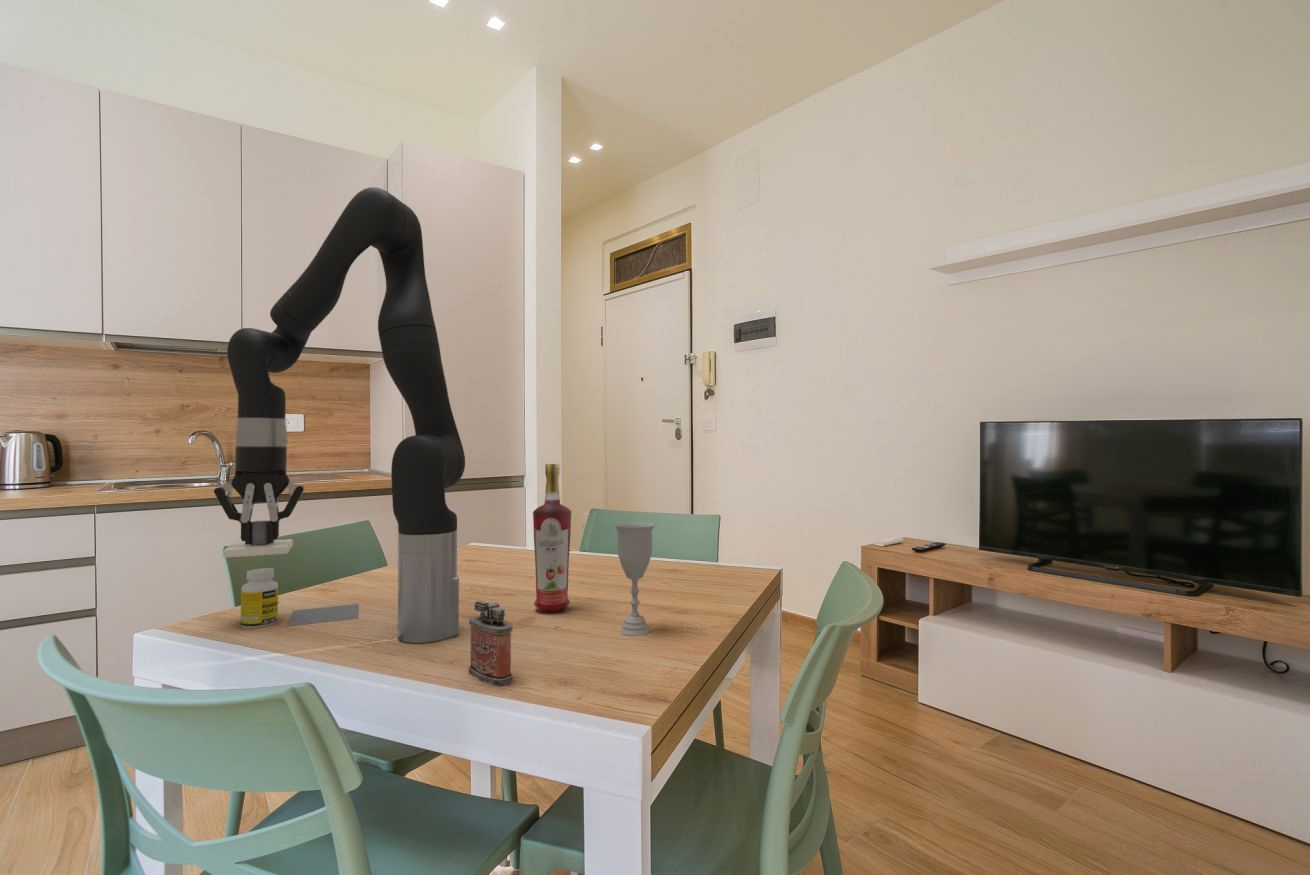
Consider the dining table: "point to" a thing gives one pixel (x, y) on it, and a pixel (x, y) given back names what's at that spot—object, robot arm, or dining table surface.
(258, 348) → the robot arm
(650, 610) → the dining table surface
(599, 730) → the dining table surface
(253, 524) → the lid
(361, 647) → the dining table surface
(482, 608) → the lighter
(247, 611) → the supplement bottle
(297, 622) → the mat
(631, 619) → the chalice
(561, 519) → the liquor
